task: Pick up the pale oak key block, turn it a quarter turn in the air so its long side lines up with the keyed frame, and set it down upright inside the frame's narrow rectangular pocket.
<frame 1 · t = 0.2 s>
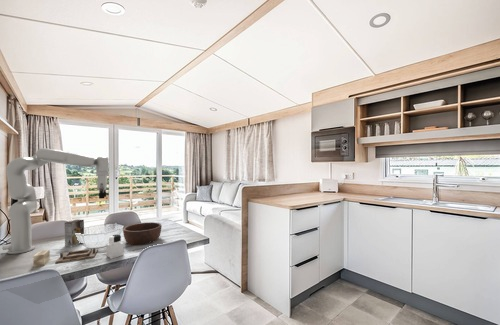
hand: (102, 197, 168), 31 cm above the table, tool pointing down, fingers open, 9 cm apart
oak key block: (41, 263, 130), on the table
coffee box: (74, 244, 161), on the table
wooden bowl: (143, 241, 167), on the table
keyed frame: (78, 256, 139), on the table
medicine bottle: (115, 255, 140), on the table
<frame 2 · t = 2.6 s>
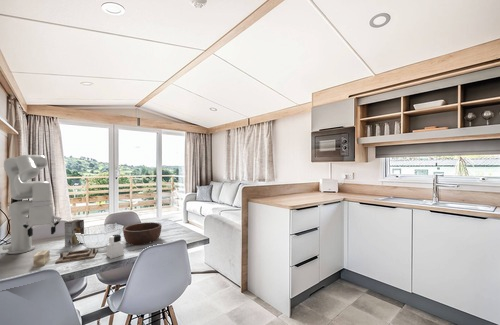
hand: (41, 234, 130), 16 cm above the table, tool pointing down, fingers open, 9 cm apart
nothing on the table moved.
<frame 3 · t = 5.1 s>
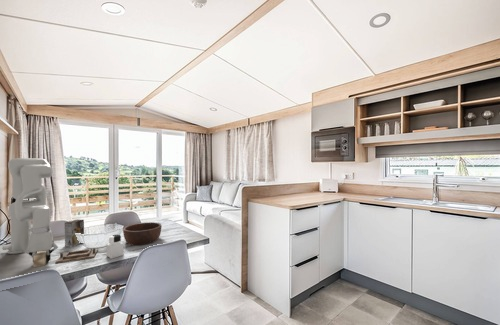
hand: (41, 262, 130), 1 cm above the table, tool pointing down, fingers closed on oak key block, 4 cm apart
oak key block: (41, 263, 130), on the table, touching gripper
everything else where it was.
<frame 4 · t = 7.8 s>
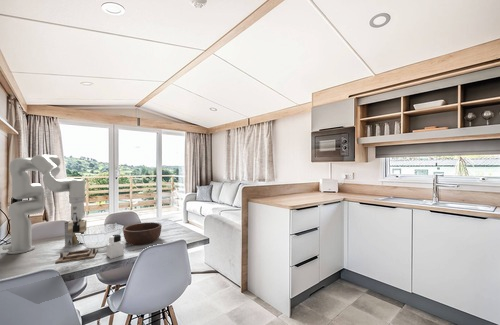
hand: (77, 230, 139), 15 cm above the table, tool pointing down, fingers closed on oak key block, 4 cm apart
oak key block: (77, 231, 139), point 15 cm above the table, touching gripper
everything else where it was.
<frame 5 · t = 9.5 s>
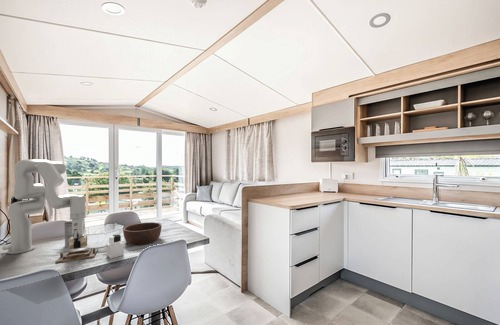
hand: (78, 246, 139), 6 cm above the table, tool pointing down, fingers closed on oak key block, 4 cm apart
oak key block: (78, 247, 139), point 5 cm above the table, touching gripper
everything else where it was.
when the fingers open (3 cm above the table, at t = 10.8 s): oak key block drops 2 cm, resting on keyed frame.
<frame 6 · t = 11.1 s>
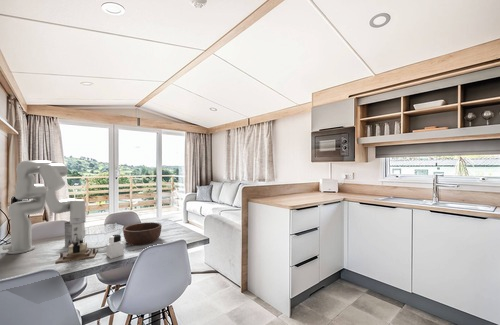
hand: (78, 250, 139), 4 cm above the table, tool pointing down, fingers open, 7 cm apart
oak key block: (78, 254, 139), point 1 cm above the table, touching keyed frame
everything else where it was.
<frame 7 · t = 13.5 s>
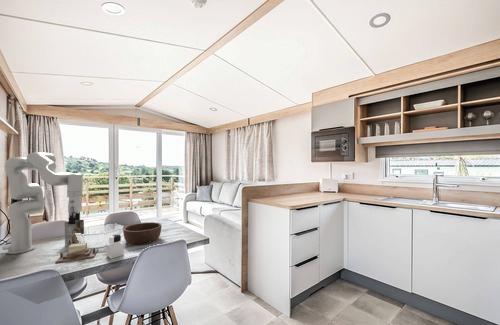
hand: (74, 222, 141), 20 cm above the table, tool pointing down, fingers open, 9 cm apart
nothing on the table moved.
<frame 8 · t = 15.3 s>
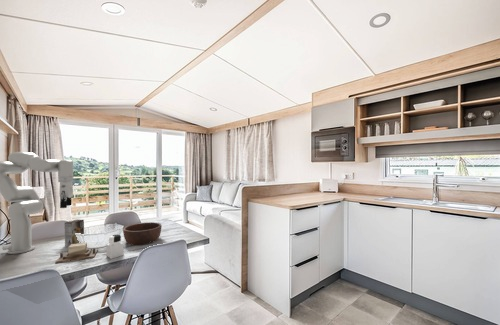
hand: (65, 206, 148), 28 cm above the table, tool pointing down, fingers open, 9 cm apart
nothing on the table moved.
at the end: oak key block 0.1 cm off-centre on the keyed frame, point 1.0 cm above the keyed frame's base; oak key block tilted 0°; the gripper is holding nothing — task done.
